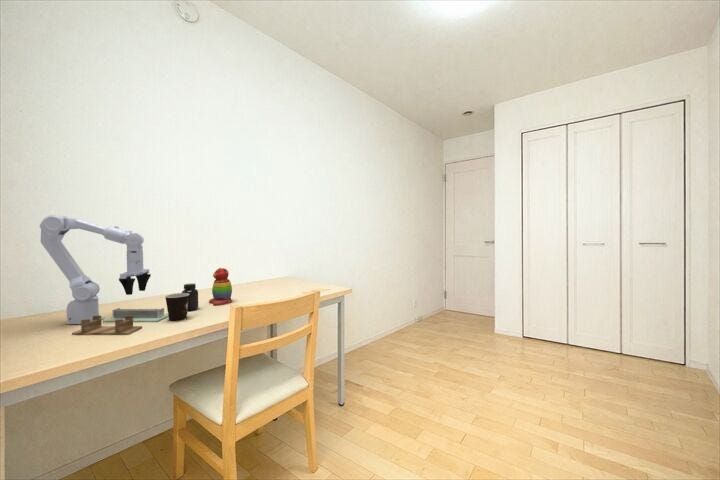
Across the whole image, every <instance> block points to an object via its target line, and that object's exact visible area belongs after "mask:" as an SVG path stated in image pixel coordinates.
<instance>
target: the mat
mask: <svg viewBox="0 0 720 480" xmlns="http://www.w3.org/2000/svg"><path fill="white" fill-rule="evenodd" d="M167 318H169V316H168V313H164V316H163V317H161V318H133V323H158V322H161V321H163V320H165V319H167ZM116 319H123V320H125V318H113V316H112V317H109V318H105V319H102V323H115V320H116Z"/></svg>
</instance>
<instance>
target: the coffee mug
mask: <svg viewBox="0 0 720 480" xmlns="http://www.w3.org/2000/svg"><path fill="white" fill-rule="evenodd" d="M188 301H189V294H188V293H182V292H181V293H179V292H178V293H171V294H167V295H165V303H166V304H165V305H166V309H167V314H168V316H169V317H168V321H170V322H178V321H183V320H186V319H187V318H188V317H187V316H188V311H187V310H188Z"/></svg>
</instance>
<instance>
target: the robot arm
mask: <svg viewBox="0 0 720 480" xmlns="http://www.w3.org/2000/svg"><path fill="white" fill-rule="evenodd" d="M39 229H40V244H41V245H42V247H43V248H44V249H45V250H46V252H47V253H48V255H49V256H50V257H51V258H52V260H53V261H54V263H55V264H56V265H57V267H58V269H59V270H60V271H61V272H62V274H63V275H64V277H65V279H67V280H68V282H69V288H70V289H71V293H72V294H71V295H72V297H73V299H74V300H73V299H72V300H70V302H69V303H68V304H67V305H66V322H64V324H65V325H81V320H83V319H90V321H91V320H93V316H94V315H100V310H99V309H100V308H99V305H100V303H99V296H98V295H97V294H99V292H100V289H101V288H100V285H99V284H98V283H96V282H94V281H93V280H92V279H91V278H90V277H89V276H87V275H86V274H85V273H84V272H83V270H82V268H81V267H80V266H79V264H78V263H77V261H76V260H75V259H74V257H73V256H72V255H71V253H70V251H69V250H68V249H67V247H66V246H65V244H64V243H63V242H62V240H63V238H64V237H65V235H66V234H67V233H68V232H70V231H71V230H78V229H79V230H82V231H87V232H91V233H95V234H98V235H101V236H103V237H104V239H105V240H108V241H111V242H115V243H118V244H121V245H122V244H123V245H126V272H123V273H119V278H118V282H120V284H121V285H122V287H123V289H124V292H125V295H127V296H131V295H133V292H134V291H133V289H134V284H135V280H137V284H138V291H140V292H145V291H146V289H147V288H146V287H147V284H148V282H149V279H150V278H151V276H152V275H151V273H150V268H149V269H148V268H145V269H144V250H143V248H144V247H143V244H144V241H145V240H144V237H143V236H142V234H140V233H137V232H133V231H132V230H126V229H123V228H120V226H118V225H114V226H112V225H111V226H108V227H105V226H101V225H99V224H95V223H92V222H89V221H86V220H83V219H80V218H75V217H69V216H66V215H56V214H54V215H53V214H51V215H48V216H45V217H44V218H43V220H42V221H41V223H39ZM133 277H135V278H133ZM105 319H106V317H105V316H101V320H105Z"/></svg>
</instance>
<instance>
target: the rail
mask: <svg viewBox="0 0 720 480" xmlns="http://www.w3.org/2000/svg"><path fill="white" fill-rule="evenodd" d="M164 314H165V308H164V307H162V308H137V309H136V308H131V309H130V308H120V307H118V308H114V309H113V310H112V313H111V315H112V317H113V318H125V316H126V315H133V318H161V317H163V316H164Z"/></svg>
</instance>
